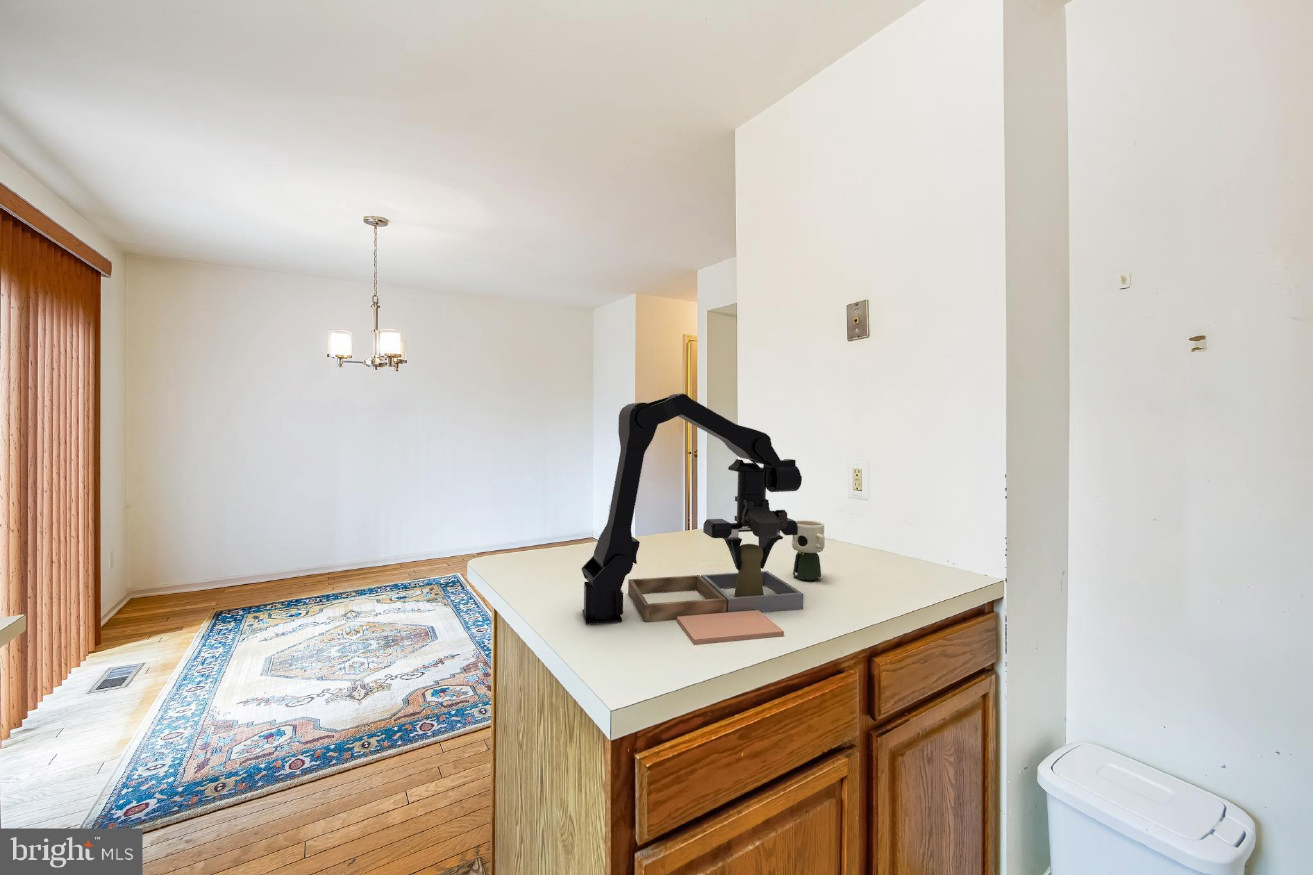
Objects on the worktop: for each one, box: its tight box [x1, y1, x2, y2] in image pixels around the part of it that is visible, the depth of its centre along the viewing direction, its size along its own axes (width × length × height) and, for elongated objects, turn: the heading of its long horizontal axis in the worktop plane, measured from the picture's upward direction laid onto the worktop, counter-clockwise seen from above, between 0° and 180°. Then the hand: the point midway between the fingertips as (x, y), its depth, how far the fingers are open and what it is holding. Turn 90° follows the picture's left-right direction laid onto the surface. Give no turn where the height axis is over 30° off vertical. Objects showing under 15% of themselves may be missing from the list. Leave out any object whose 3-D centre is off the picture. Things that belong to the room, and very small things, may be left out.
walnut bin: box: [627, 574, 726, 623], centre depth 102 cm, size 16×16×3 cm
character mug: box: [791, 519, 826, 581], centre depth 120 cm, size 11×7×13 cm, turn 22°
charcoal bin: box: [700, 570, 805, 613], centre depth 106 cm, size 16×16×3 cm
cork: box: [733, 543, 765, 597], centre depth 106 cm, size 6×6×11 cm
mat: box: [676, 610, 785, 645], centre depth 90 cm, size 16×10×1 cm, turn 104°
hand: (749, 568), depth 106 cm, fingers closed on cork, 5 cm apart
